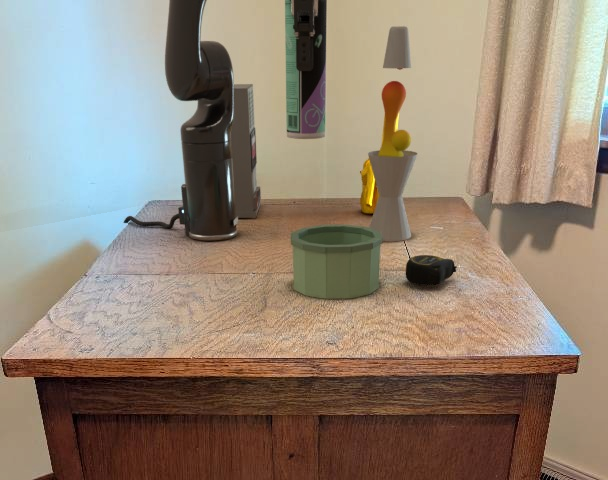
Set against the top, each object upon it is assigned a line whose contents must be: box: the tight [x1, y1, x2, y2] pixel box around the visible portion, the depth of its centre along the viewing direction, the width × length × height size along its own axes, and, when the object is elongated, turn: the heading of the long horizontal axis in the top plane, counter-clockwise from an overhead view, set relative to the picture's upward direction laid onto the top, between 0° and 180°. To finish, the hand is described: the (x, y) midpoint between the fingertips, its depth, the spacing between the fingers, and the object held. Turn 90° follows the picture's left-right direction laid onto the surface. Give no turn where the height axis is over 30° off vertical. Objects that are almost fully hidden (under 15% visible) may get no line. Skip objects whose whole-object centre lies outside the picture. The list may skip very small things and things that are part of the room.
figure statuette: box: [359, 113, 400, 214], centre depth 152 cm, size 18×8×22 cm, turn 175°
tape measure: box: [405, 254, 458, 286], centre depth 112 cm, size 7×7×4 cm
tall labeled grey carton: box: [231, 83, 262, 220], centre depth 153 cm, size 14×6×25 cm, turn 179°
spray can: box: [284, 0, 328, 140], centre depth 97 cm, size 6×6×20 cm
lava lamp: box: [367, 25, 418, 242], centre depth 130 cm, size 9×9×35 cm
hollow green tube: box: [290, 224, 384, 300], centre depth 111 cm, size 14×14×8 cm
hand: (305, 68), depth 98 cm, fingers closed on spray can, 5 cm apart
